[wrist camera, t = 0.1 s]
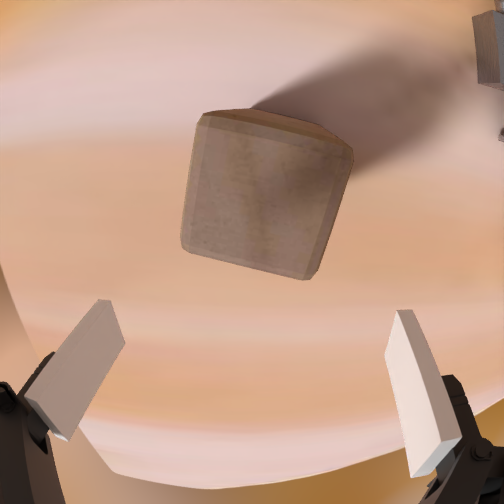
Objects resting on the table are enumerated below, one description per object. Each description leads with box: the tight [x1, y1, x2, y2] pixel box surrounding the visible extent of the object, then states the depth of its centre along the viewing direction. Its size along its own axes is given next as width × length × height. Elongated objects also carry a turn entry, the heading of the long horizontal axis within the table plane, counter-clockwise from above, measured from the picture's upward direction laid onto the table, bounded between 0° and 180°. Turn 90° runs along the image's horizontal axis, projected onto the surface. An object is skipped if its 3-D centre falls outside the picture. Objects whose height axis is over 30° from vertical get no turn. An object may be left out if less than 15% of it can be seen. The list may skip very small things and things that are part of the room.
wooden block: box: [180, 108, 354, 280], centre depth 28 cm, size 10×10×20 cm
